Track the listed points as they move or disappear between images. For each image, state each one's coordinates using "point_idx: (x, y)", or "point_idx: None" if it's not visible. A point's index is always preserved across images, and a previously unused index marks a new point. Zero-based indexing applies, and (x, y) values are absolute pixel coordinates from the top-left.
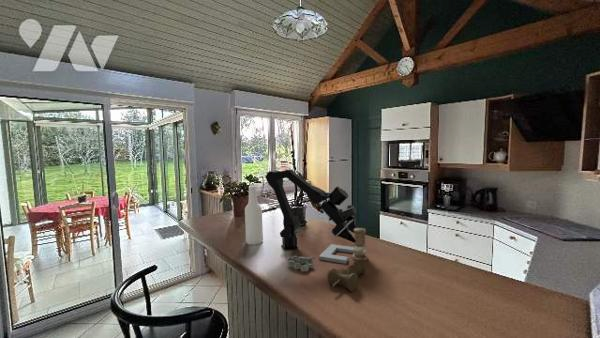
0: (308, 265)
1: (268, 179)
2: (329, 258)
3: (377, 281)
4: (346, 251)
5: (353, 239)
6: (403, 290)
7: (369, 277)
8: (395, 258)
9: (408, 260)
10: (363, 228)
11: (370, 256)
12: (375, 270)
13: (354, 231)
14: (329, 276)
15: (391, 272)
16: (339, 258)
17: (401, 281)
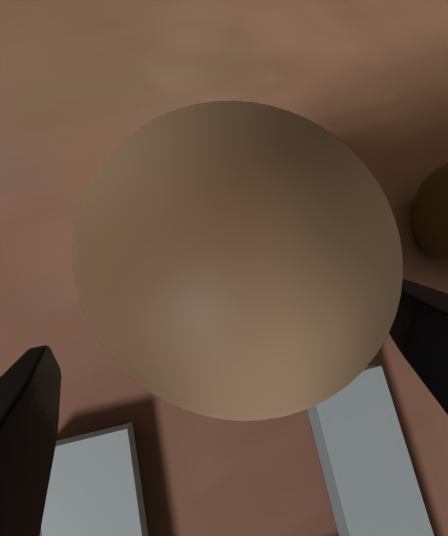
0: None
1: None
2: (427, 528)
3: (434, 112)
4: (142, 501)
5: (434, 295)
6: (425, 6)
7: (425, 158)
8: (64, 103)
9: (58, 32)
10: (85, 195)
11: None
12: None
13: (371, 332)
14: None
15: (292, 80)
16: (385, 435)
17: (355, 24)
